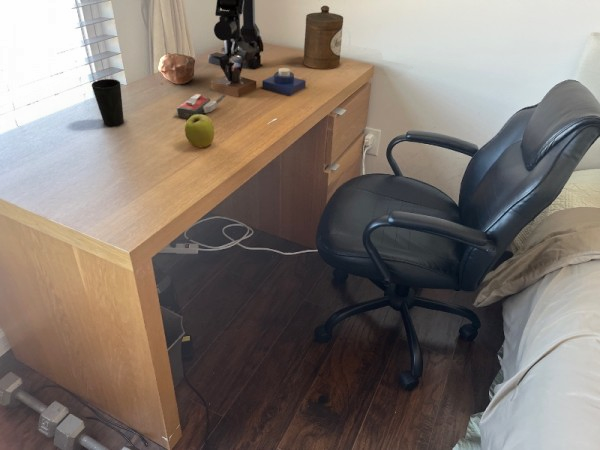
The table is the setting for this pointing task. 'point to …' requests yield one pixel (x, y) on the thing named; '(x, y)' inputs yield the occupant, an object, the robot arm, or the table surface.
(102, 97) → the cup
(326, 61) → the wooden container
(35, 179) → the table surface
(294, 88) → the button housing
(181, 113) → the walkie-talkie
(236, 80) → the dial
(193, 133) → the apple
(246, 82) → the dial panel
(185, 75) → the decorative rock
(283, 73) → the cap
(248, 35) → the robot arm
